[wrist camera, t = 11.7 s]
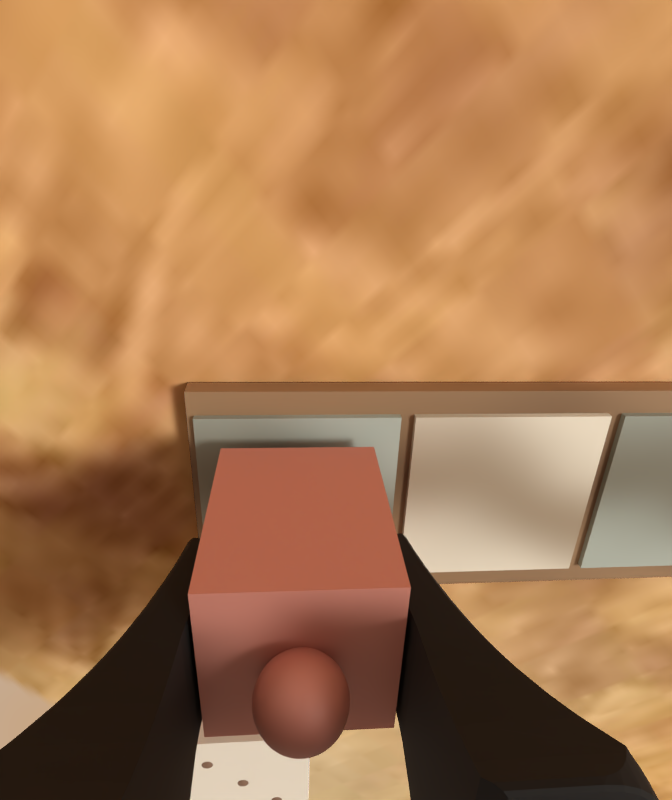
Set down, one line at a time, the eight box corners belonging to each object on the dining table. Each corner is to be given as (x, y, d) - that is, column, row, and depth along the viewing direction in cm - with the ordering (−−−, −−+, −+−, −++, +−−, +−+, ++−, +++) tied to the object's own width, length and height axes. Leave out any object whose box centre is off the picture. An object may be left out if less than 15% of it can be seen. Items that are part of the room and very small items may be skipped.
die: (305, 701, 21) (308, 818, 18) (199, 706, 21) (181, 827, 17) (306, 626, 19) (310, 739, 16) (191, 630, 19) (168, 748, 15)
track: (878, 558, 20) (900, 573, 19) (206, 577, 18) (202, 596, 17) (984, 381, 17) (1015, 392, 16) (187, 382, 15) (182, 395, 14)
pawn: (365, 563, 16) (408, 810, 10) (228, 567, 16) (191, 823, 10) (374, 446, 14) (431, 663, 9) (220, 448, 14) (169, 674, 8)
